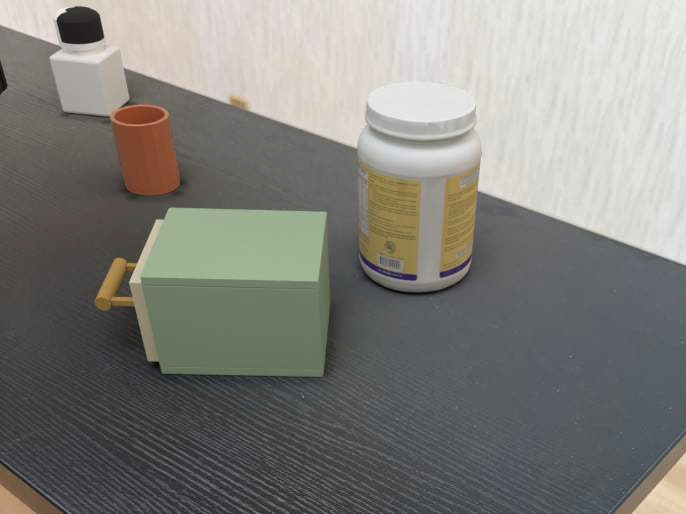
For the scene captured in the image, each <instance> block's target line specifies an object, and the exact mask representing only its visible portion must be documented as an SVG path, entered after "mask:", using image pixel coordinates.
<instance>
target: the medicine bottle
mask: <svg viewBox="0 0 686 514" xmlns="http://www.w3.org/2000/svg"><path fill="white" fill-rule="evenodd" d="M52 20H53V24H54V28H55V31H56V35H57V39H58V44H59V47H60V48H61V49H59V50H58V51H55V52H54V53H53V54H52V55H50V56H49V62H50V66H51V70H52V74H53V79H54V82H55V86H56V89H57V93H58V98H59V101H60V105H61V107H62V108H61V109H62V112H64V113H65V114H67V113H68V114H75V115H76V114H77V115H85V116H95V117H107V118H110V115H111V113H112V112H114V111H115V110H117V109H119V108H123V107H124V105H125V104H126V103H128V102H129V101H130V93H129V90H128V84H127V80H126V79H127V78H126V74H125V70H124V65H123V60H122V59H123V58H122V55H121V48H120V47H119V46H118V45H111V44H106V38H105V33H104V28H103V24H102V19H101V15H100V13H99V12H98V11H97V10H95V9H93V8H91V7H88V6H82V5H74V6H66V7H62V8H59V9H58V10H57V11H55V12H54V13H53V16H52Z"/></svg>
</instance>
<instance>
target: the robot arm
mask: <svg viewBox="0 0 686 514" xmlns="http://www.w3.org/2000/svg"><path fill="white" fill-rule="evenodd" d="M8 86H9V85H8V82H7V78H6V75H5V70H4V68H3V64H2V61H1V60H0V96H1V95H2V93H3V92H5V91H6V90H7V89H8Z"/></svg>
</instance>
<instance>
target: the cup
mask: <svg viewBox="0 0 686 514" xmlns="http://www.w3.org/2000/svg"><path fill="white" fill-rule="evenodd" d="M109 121H110V125H111V129H112V135H113V139H114V144H115V147H116V152H117V157H118V161H119V165H120V171H121V174H122V179H123V182H124V187H125V189H126V190H127V191H128V192H130V193H131V194H134V195H138V196H145V197H147V196H148V197H151V196H152V197H153V196H162V195H165V194H169V193H172V192H174V191H175V190H177V189H178V188H179V187H180V185H181V176H180V170H179V164H178V158H177V153H176V152H177V151H176V146H175V140H174V135H173V129H172V123H171V116H170V113H169V111H168V109H165V108H164V107H161V106H157V105H154V104H153V105H152V104H133V105H127V106H122V107H121V108H119V109H117V110H115V111H114V112H112V113H111V115H110V117H109Z"/></svg>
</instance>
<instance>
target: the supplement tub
mask: <svg viewBox="0 0 686 514" xmlns="http://www.w3.org/2000/svg"><path fill="white" fill-rule="evenodd" d="M365 105H366V106H365V107H366V108H365V109H366V111H365V114H364V120H365V122H366V125H365V126H364V127H363V129H362V130H361V131H360V134H359V136H358V138H357V139H358V140H357V146H356V152H357V191H358V193H357V195H358V197H357V198H358V201H357V202H358V257H359V261H360V264H361V267H362V269H363V270H364V273H365V274H366V275H367V276H368V277H369V278H370V279H371V280H372V281H374V282H375V283H377V284H378V285H380V286H382V287H385V288H388V289H391V290H393V291H397V292H403V293H404V292H405V293H429V292H436V291H440V290H443V289H446V288H449V287H451V286H453V285H455V284H456V283H458V282H460V281H461V280H462V279H463V278H464V277H465V276H466V274H467V273H468V272H469V270H470V267H471V264H472V260H473V245H474V233H475V223H476V222H475V221H476V213H477V201H478V200H477V199H478V190H479V180H480V171H481V161H482V160H481V159H482V153H483V152H482V141H481V138H480V136H479V134H478V132H477V130H476V129H475V127H476V125H477V122H478V118H477V115H476V114H477V100H476V99H475V96H473V95H472V94H470V93H469V92H468V91H466V90H464V89H462V88H459V87H456V86H453V85H449V84H446V83H445V84H444V83H440V82H433V81H402V82H401V81H400V82H394V83H393V82H392V83H389V84H386V85H385V84H384V85H382V86H379V87H377V88H375V89H373V90H372V91H370V92H369V94H368V95H367V97H366V103H365Z"/></svg>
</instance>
